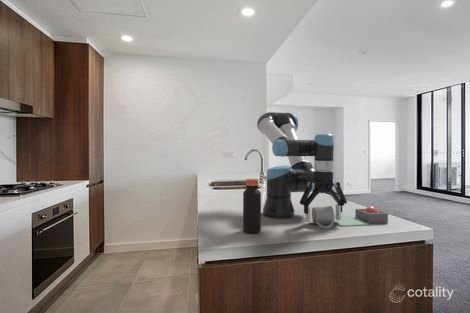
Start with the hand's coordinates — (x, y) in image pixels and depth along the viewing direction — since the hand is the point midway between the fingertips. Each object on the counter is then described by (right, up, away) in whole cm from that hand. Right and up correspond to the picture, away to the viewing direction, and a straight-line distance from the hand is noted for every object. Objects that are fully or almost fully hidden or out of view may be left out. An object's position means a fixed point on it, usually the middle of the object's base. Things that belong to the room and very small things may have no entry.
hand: (323, 220), depth 102 cm
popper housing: (+24, -1, +5) cm, 24 cm away
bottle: (-31, -2, -9) cm, 32 cm away
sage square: (+12, -1, +4) cm, 12 cm away
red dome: (+23, 0, +5) cm, 24 cm away
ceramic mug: (0, -2, -2) cm, 3 cm away
